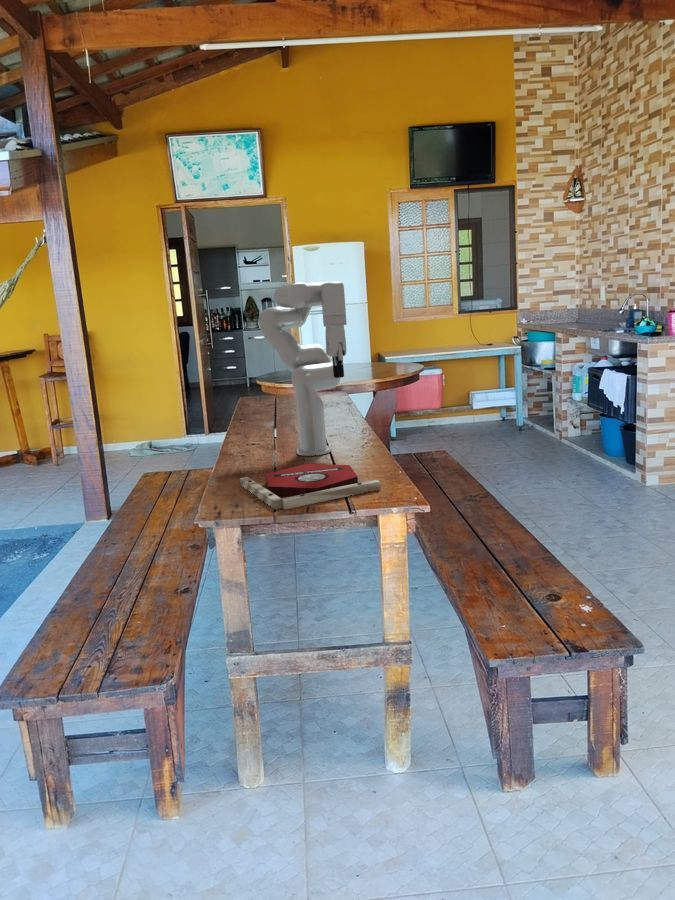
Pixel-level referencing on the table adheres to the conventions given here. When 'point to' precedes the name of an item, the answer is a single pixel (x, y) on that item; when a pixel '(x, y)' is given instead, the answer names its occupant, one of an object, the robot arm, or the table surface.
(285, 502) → the corner rail
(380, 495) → the table surface
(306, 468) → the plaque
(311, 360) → the robot arm
